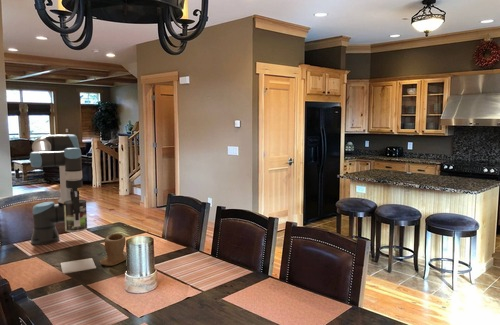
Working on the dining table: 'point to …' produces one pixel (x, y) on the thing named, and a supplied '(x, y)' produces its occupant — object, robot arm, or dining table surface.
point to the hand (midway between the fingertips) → (76, 223)
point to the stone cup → (114, 249)
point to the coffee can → (70, 217)
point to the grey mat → (77, 265)
